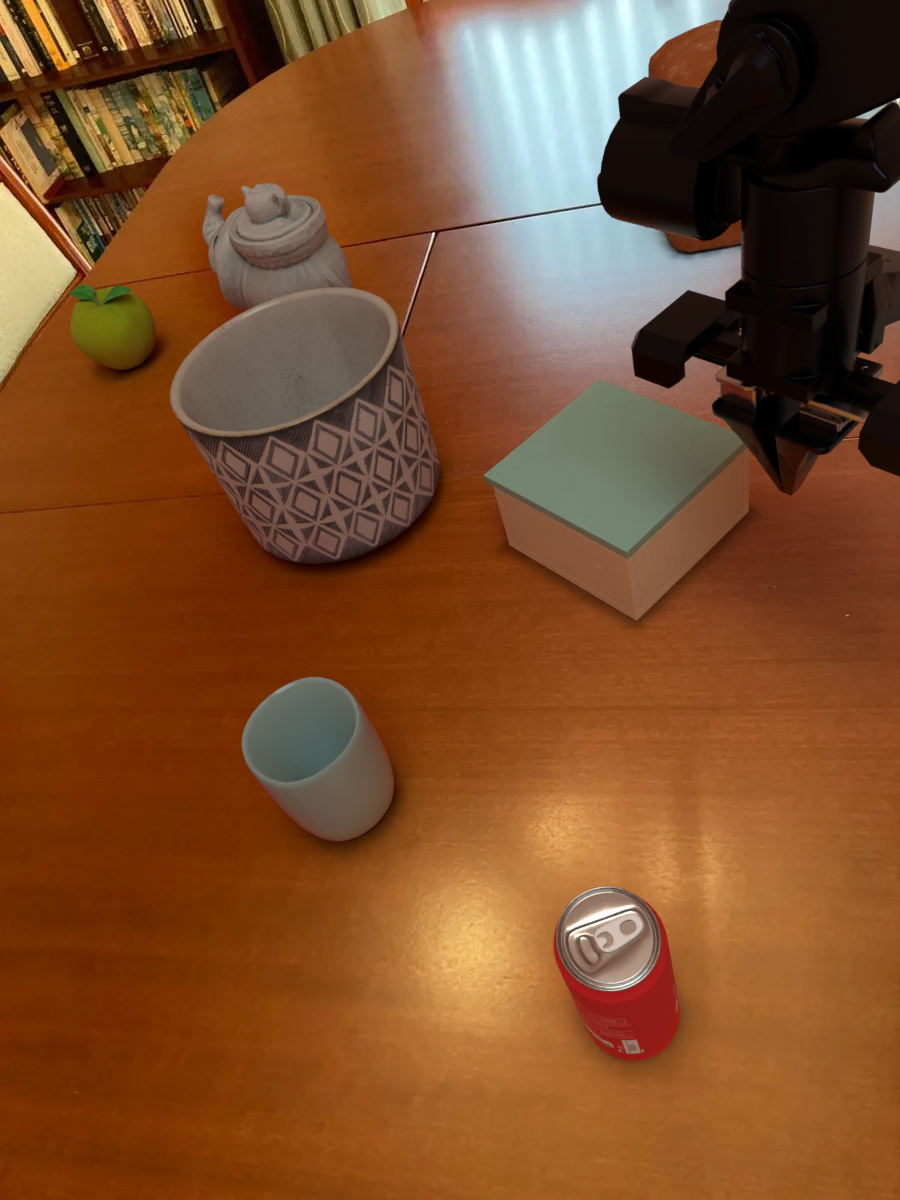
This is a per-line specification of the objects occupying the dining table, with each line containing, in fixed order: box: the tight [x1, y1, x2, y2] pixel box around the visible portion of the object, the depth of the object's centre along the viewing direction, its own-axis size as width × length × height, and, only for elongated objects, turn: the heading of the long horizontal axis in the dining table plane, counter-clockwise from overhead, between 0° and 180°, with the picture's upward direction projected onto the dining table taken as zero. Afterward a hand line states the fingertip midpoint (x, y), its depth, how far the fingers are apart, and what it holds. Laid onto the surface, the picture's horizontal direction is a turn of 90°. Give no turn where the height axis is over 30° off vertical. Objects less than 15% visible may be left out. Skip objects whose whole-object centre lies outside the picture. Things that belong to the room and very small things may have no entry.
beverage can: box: [553, 885, 681, 1062], centre depth 44 cm, size 5×5×12 cm
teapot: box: [201, 182, 355, 311], centre depth 97 cm, size 16×15×19 cm
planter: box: [169, 287, 441, 565], centre depth 76 cm, size 19×19×16 cm
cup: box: [240, 676, 395, 842], centre depth 58 cm, size 8×8×10 cm
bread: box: [647, 19, 741, 253], centre depth 96 cm, size 17×24×15 cm
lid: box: [483, 378, 747, 559], centre depth 66 cm, size 14×14×1 cm
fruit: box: [67, 283, 157, 371], centre depth 107 cm, size 9×9×10 cm
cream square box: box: [492, 447, 750, 622], centre depth 69 cm, size 14×14×7 cm
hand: (790, 489), depth 54 cm, fingers closed
